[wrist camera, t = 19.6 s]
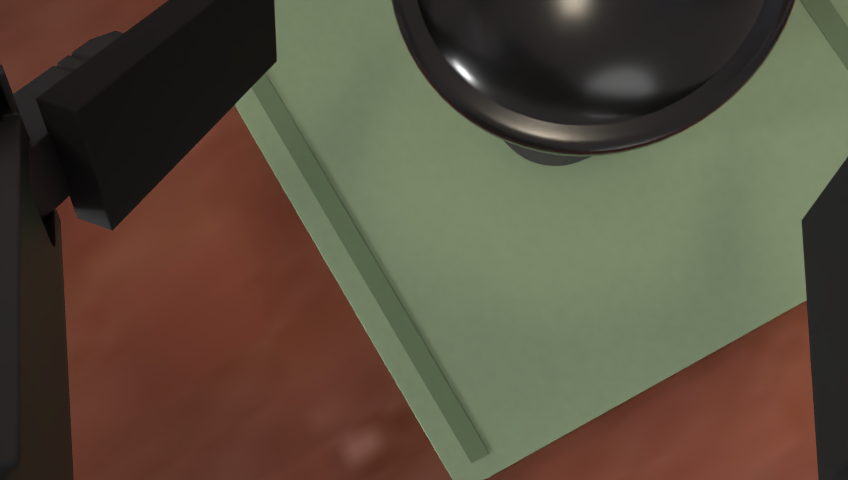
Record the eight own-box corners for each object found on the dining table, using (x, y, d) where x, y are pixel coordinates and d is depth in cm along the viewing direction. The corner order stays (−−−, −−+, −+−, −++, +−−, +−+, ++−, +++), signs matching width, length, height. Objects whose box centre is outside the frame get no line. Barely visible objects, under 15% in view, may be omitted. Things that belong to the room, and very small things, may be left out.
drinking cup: (668, 196, 26) (1136, 12, 6) (463, 210, 27) (282, 96, 7) (653, -8, 26) (1061, -842, 6) (451, 15, 27) (242, -627, 7)
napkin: (191, 26, 29) (186, 23, 29) (653, -293, 26) (656, -303, 26) (460, 490, 27) (460, 494, 27) (991, 194, 24) (999, 193, 24)
